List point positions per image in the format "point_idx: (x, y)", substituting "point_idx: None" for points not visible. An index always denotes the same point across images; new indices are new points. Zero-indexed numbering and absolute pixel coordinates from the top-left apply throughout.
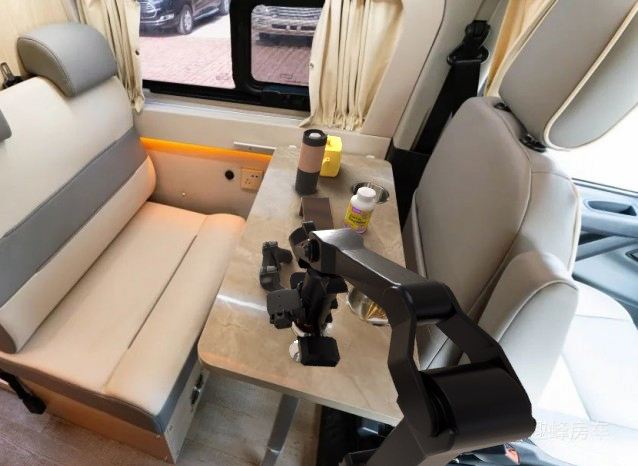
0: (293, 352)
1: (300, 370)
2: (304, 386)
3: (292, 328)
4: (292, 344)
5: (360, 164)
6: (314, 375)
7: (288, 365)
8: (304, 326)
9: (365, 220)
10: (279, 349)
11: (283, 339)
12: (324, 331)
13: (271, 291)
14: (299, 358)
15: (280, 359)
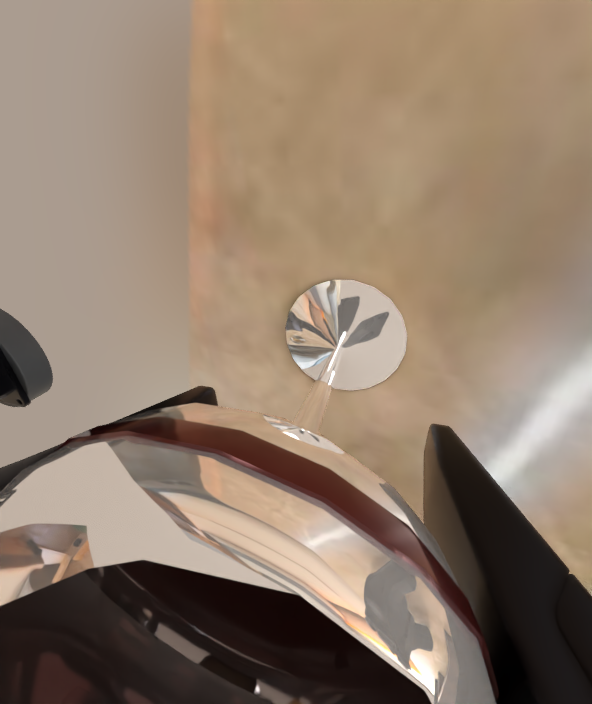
0: (331, 302)
1: (252, 317)
2: (193, 319)
3: (46, 483)
4: (382, 304)
5: None
6: (242, 366)
7: (267, 264)
8: (218, 584)
9: None
10: (356, 220)
11: (427, 253)
12: None
13: None
14: (300, 325)
15: (295, 222)
